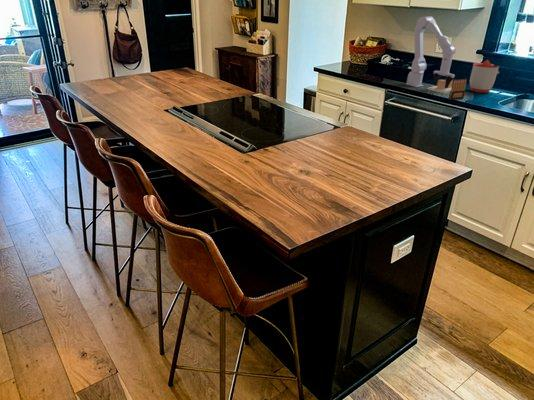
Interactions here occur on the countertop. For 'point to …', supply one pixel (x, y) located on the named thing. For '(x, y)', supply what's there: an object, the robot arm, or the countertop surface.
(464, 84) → the ammunition clip
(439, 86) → the jaw block
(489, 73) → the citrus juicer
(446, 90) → the housing
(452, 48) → the robot arm
